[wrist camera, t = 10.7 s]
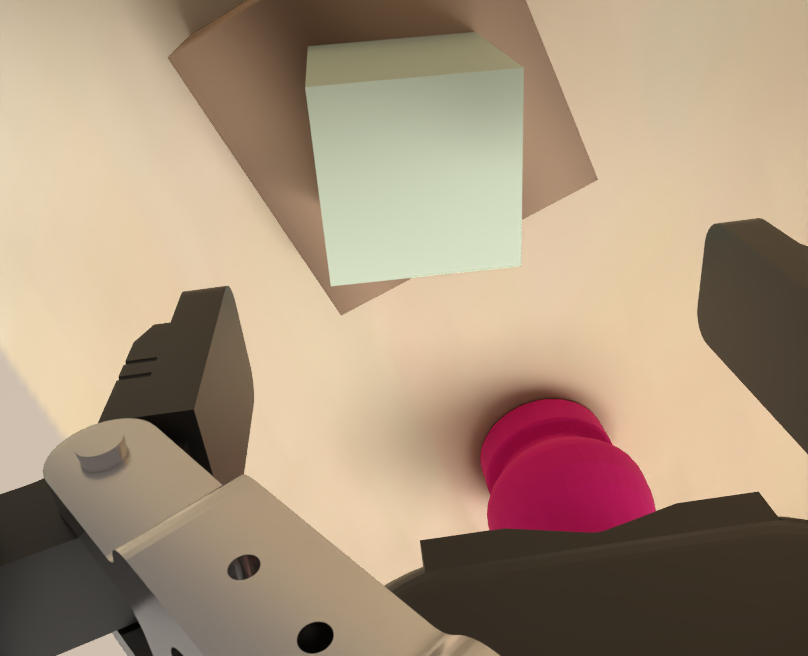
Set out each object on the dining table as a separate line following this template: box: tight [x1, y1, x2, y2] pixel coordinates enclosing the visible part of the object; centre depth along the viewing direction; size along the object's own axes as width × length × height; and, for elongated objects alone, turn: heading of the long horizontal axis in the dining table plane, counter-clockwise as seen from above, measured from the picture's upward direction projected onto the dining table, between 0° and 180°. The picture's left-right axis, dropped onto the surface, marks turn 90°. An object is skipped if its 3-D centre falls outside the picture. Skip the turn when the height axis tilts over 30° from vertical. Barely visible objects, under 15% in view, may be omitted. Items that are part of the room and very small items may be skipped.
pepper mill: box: [480, 399, 656, 532], centre depth 28 cm, size 7×7×20 cm
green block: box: [305, 32, 524, 286], centre depth 20 cm, size 5×5×6 cm
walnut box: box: [168, 0, 598, 315], centre depth 25 cm, size 10×10×5 cm
